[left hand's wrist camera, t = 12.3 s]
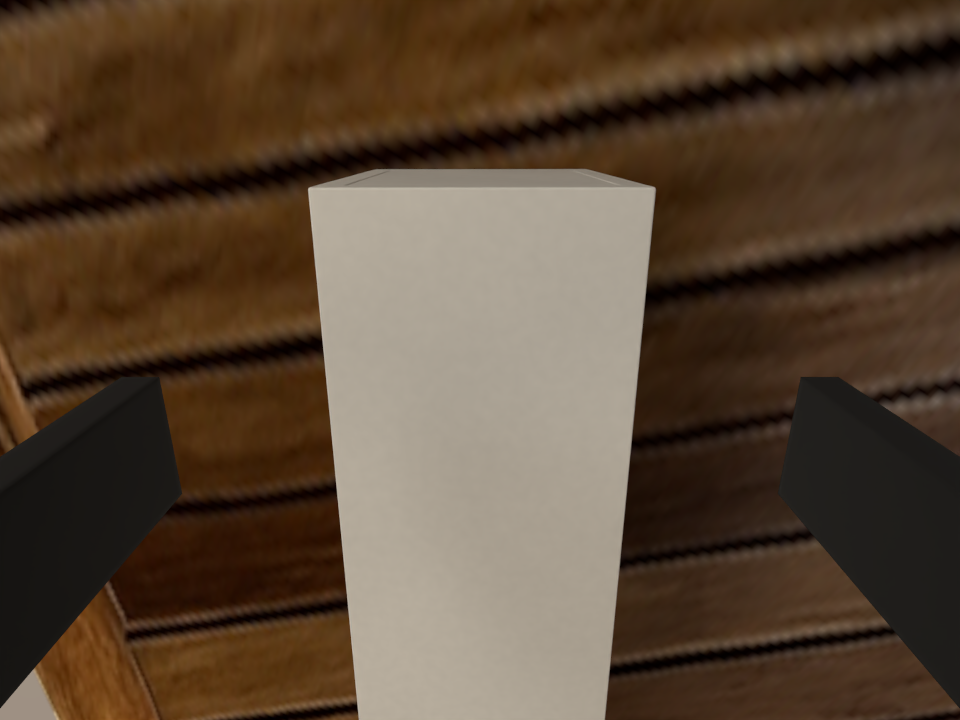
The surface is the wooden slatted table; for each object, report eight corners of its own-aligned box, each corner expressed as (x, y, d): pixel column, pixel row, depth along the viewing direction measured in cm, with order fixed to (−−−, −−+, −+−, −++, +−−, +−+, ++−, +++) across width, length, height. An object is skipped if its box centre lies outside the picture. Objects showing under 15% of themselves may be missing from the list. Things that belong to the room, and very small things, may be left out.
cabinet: (565, 554, 35) (603, 738, 25) (397, 554, 36) (360, 738, 25) (587, 169, 28) (656, 187, 17) (374, 169, 28) (306, 187, 17)
